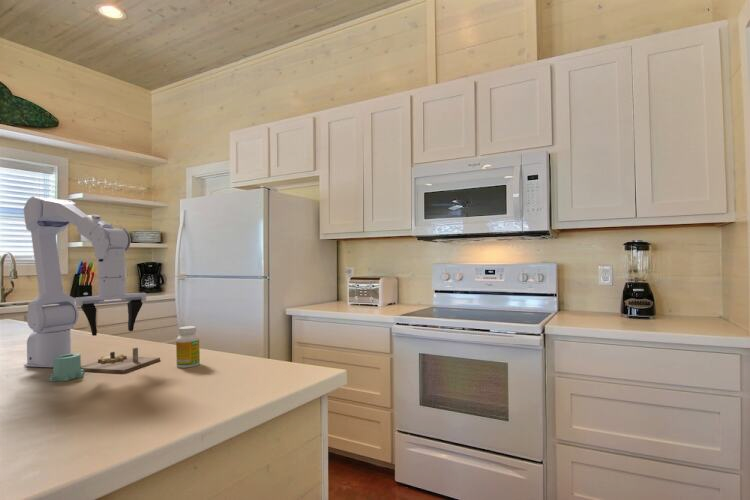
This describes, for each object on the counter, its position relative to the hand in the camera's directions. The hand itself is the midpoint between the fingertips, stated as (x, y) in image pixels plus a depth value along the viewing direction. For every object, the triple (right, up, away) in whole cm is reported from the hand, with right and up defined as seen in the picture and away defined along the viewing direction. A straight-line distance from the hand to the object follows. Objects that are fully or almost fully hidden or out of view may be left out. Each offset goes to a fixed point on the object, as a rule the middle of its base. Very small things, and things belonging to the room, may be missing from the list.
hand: (112, 332), depth 103 cm
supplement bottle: (+17, -9, +4) cm, 20 cm away
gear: (-8, -10, -4) cm, 13 cm away
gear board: (-2, -10, +6) cm, 11 cm away
